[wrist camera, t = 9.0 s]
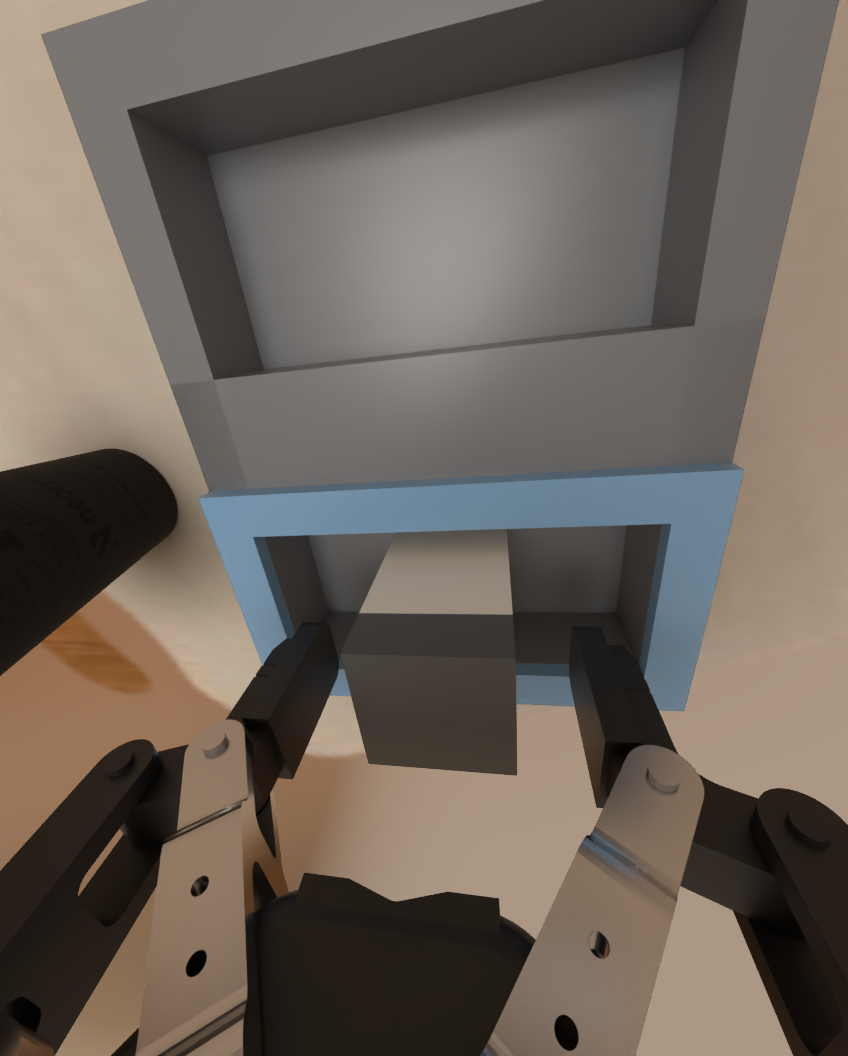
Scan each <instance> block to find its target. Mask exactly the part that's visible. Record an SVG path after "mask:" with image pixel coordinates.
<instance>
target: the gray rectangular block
mask: <svg viewBox="0 0 848 1056" xmlns="http://www.w3.org/2000/svg"><path fill="white" fill-rule="evenodd" d="M340 655H341V659H342V663H343V666H344V670H345V674H346V678H347V682H348V686H349V690H350V693H351V697H352V701H353V705H354V709H355V713H356V717H357V720H358V724H359V728H360V732H361V736H362V740H363V744H364V747H365V751H366V755H367V759H368V763H369V764H380V765H392V766H404V767H417V768H429V769H443V770H454V771H467V772H479V773H492V774H504V775H517V720H516V653H515V639H514V625H513V611H512V597H511V583H510V569H509V555H508V541H507V529H489V530H457V531H426V532H396V534H395V536H394V538H393V540H392V543H391V545H390V547H389V549H388V551H387V553H386V556H385V558H384V560H383V562H382V564H381V566H380V569H379V571H378V573H377V575H376V577H375V579H374V582H373V584H372V586H371V588H370V590H369V592H368V595H367V597H366V599H365V601H364V603H363V605H362V608H361V610H360V612H359V614H358V616H357V619H356V621H355V623H354V625H353V627H352V629H351V632H350V634H349V636H348V638H347V640H346V642H345V645H344V647H343V649H342V651H341V653H340Z"/></svg>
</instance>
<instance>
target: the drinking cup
mask: <svg viewBox="0 0 848 1056" xmlns="http://www.w3.org/2000/svg"><path fill="white" fill-rule="evenodd" d="M176 520H177V507H176V502H175V499H174V496H173V494H172V491H171V489H170V488H169V486H168V484H167V483H166V481H165V480H164V479H163V477H162V476H161V475H160V474H159V473H158V472H157V471H156V470H155V469H154V468H153V467H152V466H151V465H150V464H148V463H147V462H146V461H144V460H143V459H141V458H139V457H138V456H136V455H134V454H131V453H129V452H126V451H122V450H118V449H103V450H98V451H93V452H89V453H84V454H80V455H75V456H71V457H66V458H61V459H57V460H52V461H48V462H43V463H38V464H34V465H29V466H25V467H20V468H15V469H11V470H6V471H2V472H0V676H1V675H2V674H3V673H4V672H5V671H7V670H8V669H9V668H10V667H12V666H13V665H14V664H15V663H16V662H17V661H19V660H20V659H21V658H22V657H23V656H25V655H26V654H27V653H28V652H29V651H31V650H32V649H33V648H34V647H35V646H37V645H38V644H39V643H40V642H41V641H43V640H44V639H45V638H46V637H47V636H49V635H50V634H51V633H52V632H53V631H55V630H56V629H57V628H58V627H59V626H61V625H62V624H63V623H64V622H65V621H66V620H68V619H69V618H70V617H71V616H72V615H74V614H75V613H76V612H77V611H78V610H79V609H81V608H82V607H83V606H84V605H86V604H87V603H88V602H89V601H90V600H91V599H93V598H94V597H95V596H96V595H97V594H99V593H100V592H101V591H102V590H104V589H105V588H106V587H107V586H108V585H109V584H111V583H112V582H113V581H114V580H115V579H117V578H118V577H119V576H120V575H121V574H123V573H124V572H125V571H126V570H127V569H129V568H130V567H131V566H132V565H133V564H135V563H136V562H137V561H138V560H139V559H141V558H142V557H143V556H144V555H145V554H146V553H148V552H149V551H150V550H151V549H152V548H154V547H155V546H156V545H157V544H158V543H160V542H161V541H162V540H163V539H164V538H166V537H167V536H168V535H169V534H170V533H171V532H172V530H173V529H174V526H175V524H176Z"/></svg>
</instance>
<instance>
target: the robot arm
mask: <svg viewBox="0 0 848 1056" xmlns="http://www.w3.org/2000/svg"><path fill="white" fill-rule="evenodd" d="M338 671H339V658H338V654H337V651H336V647H335V643H334V640H333V636H332V632H331V629H330V626H329V624H328V623H327V622H303V623H302V624H301V625H300V626H299V628H298V629H297V631H296V633H295V634H294V636H293V637H292V638H286V639H285V640H284V641H283V642H281V643H280V644H279V645H278V646H277V647H275V648H274V649H273V650H272V651H271V653H270V654H269V656H268V657H267V659H266V660H265V662H264V665H263V666H261V668H260V669H259V671H258V672H257V674H256V677H254V678H253V680H252V681H251V683H250V684H249V686H248V687H247V689H246V690H245V692H244V693H243V695H242V696H241V698H240V699H239V701H238V702H237V704H236V705H235V707H234V708H233V710H232V711H231V713H230V714H229V716H228V717H227V719H226V720H222V721H219V722H216V723H214V724H212V725H210V726H208V727H206V728H205V729H203V730H202V731H201V732H200V733H198V734H197V735H196V736H195V738H194V739H193V740H192V741H191V742H190V744H188V745H185V746H180V747H176V748H172V749H168V750H164V751H160V752H157V751H156V749H155V748H154V746H153V744H152V743H151V742H150V741H148V740H144V739H139V740H133V741H130V742H127V743H125V744H123V745H121V746H119V747H117V748H116V749H114V750H112V751H111V752H109V753H108V754H107V755H106V756H104V757H103V758H102V759H101V760H100V761H99V762H98V763H97V764H96V766H95V767H94V768H93V769H92V770H91V771H90V772H89V773H88V774H87V775H86V777H85V778H84V779H83V780H82V781H81V782H80V783H79V784H78V786H77V787H76V788H75V789H74V790H73V791H72V792H71V793H70V794H69V795H68V797H67V798H66V799H65V800H64V801H63V802H62V803H61V804H60V805H59V806H58V808H57V809H56V810H55V811H54V812H53V813H52V814H51V815H50V816H49V818H48V819H47V820H46V821H45V822H44V823H43V824H42V825H41V826H40V828H39V829H38V830H37V831H36V832H35V833H34V834H33V835H32V836H31V838H30V839H29V840H28V841H27V842H26V843H25V844H24V845H23V846H22V848H21V849H20V850H19V851H18V852H17V853H16V854H15V855H14V856H13V857H12V859H11V860H10V861H9V862H8V863H7V864H6V865H5V866H4V867H3V869H2V870H1V871H0V1056H55V1054H56V1053H57V1051H58V1049H59V1048H60V1046H61V1044H62V1043H63V1041H64V1039H65V1038H66V1036H67V1034H68V1033H69V1031H70V1029H71V1027H72V1026H73V1024H74V1023H75V1021H76V1019H77V1017H78V1016H79V1014H80V1012H81V1011H82V1009H83V1008H84V1006H85V1004H86V1002H87V1001H88V999H89V998H90V996H91V994H92V993H93V991H94V989H95V988H96V986H97V984H98V983H99V981H100V979H101V978H102V976H103V974H104V973H105V971H106V969H107V968H108V966H109V964H110V963H111V961H112V959H113V958H114V956H115V954H116V953H117V951H118V949H119V948H120V946H121V944H122V942H123V941H124V939H125V938H126V936H127V934H128V933H129V931H130V929H131V928H132V926H133V924H134V923H135V921H136V919H137V918H138V916H139V914H140V913H141V911H142V909H143V908H144V906H145V904H146V903H147V901H148V899H149V898H150V896H151V894H152V893H153V891H154V889H155V888H156V886H157V890H156V898H155V906H154V914H153V923H152V930H151V938H150V946H149V954H148V962H147V969H146V978H145V985H144V994H143V1001H142V1010H141V1017H140V1025H139V1028H138V1029H137V1030H136V1031H135V1032H134V1033H133V1034H132V1035H131V1036H130V1037H129V1038H128V1039H127V1040H126V1041H125V1042H124V1043H123V1044H122V1045H121V1046H120V1047H119V1048H118V1049H117V1050H116V1051H115V1052H114V1053H113V1054H112V1055H111V1056H636V1052H637V1049H638V1045H639V1041H640V1038H641V1034H642V1030H643V1026H644V1023H645V1019H646V1015H647V1011H648V1007H649V1004H650V1000H651V997H652V993H653V989H654V986H655V982H656V978H657V974H658V971H659V967H660V963H661V960H662V956H663V952H664V948H665V945H666V941H667V937H668V933H669V930H670V926H671V922H672V919H673V915H674V911H675V907H676V903H677V896H678V892H679V888H680V886H682V887H684V888H686V889H688V890H690V891H692V892H695V893H697V894H699V895H701V896H703V897H705V898H708V899H710V900H712V901H714V902H716V903H719V904H720V905H723V906H725V907H727V908H729V909H731V910H733V912H734V914H735V916H736V919H737V922H738V924H739V926H740V929H741V931H742V934H743V936H744V938H745V940H746V943H747V946H748V948H749V950H750V953H751V955H752V957H753V960H754V962H755V965H756V967H757V970H758V972H759V974H760V977H761V979H762V982H763V984H764V986H765V989H766V991H767V994H768V996H769V998H770V1001H771V1003H772V1006H773V1008H774V1010H775V1013H776V1015H777V1018H778V1020H779V1023H780V1025H781V1027H782V1030H783V1032H784V1035H785V1037H786V1039H787V1042H788V1044H789V1047H790V1049H791V1051H792V1054H793V1056H848V825H847V824H846V823H845V822H844V821H843V820H842V819H841V818H840V817H839V816H838V815H837V814H835V813H834V812H833V811H832V810H830V809H829V808H828V807H827V806H825V805H824V804H822V803H821V802H819V801H817V800H816V799H814V798H812V797H810V796H808V795H805V794H803V793H800V792H797V791H794V790H790V789H783V788H776V789H770V790H768V791H765V792H764V793H763V794H762V795H761V796H760V797H759V799H757V798H755V797H752V796H749V795H746V794H743V793H740V792H737V791H734V790H731V789H729V788H726V787H723V786H720V785H718V784H715V783H713V782H711V781H709V780H707V779H706V778H704V777H703V776H701V775H699V774H698V773H697V772H696V770H695V769H694V768H693V767H692V765H691V764H690V763H688V761H686V760H685V759H684V758H683V757H681V756H680V755H679V754H678V753H677V751H676V749H675V747H674V745H673V743H672V740H671V738H670V736H669V733H668V731H667V729H666V726H665V724H664V722H663V719H662V717H661V715H660V713H659V710H658V708H657V705H656V703H655V701H654V698H653V696H652V694H651V693H650V689H649V687H648V684H647V682H646V680H645V679H644V675H643V673H642V670H641V668H640V666H639V663H638V661H637V659H636V658H635V657H634V656H633V655H632V654H631V653H630V652H629V651H628V650H627V649H626V648H625V647H624V646H623V645H608V644H607V641H606V639H605V636H604V633H603V630H602V628H601V627H600V626H572V629H571V642H570V658H569V678H570V686H571V691H572V696H573V700H574V705H575V710H576V714H577V719H578V723H579V728H580V733H581V737H582V742H583V747H584V751H585V756H586V761H587V765H588V770H589V775H590V779H591V784H592V788H593V793H594V798H595V803H596V807H597V808H603V810H602V812H601V814H600V817H599V819H598V821H597V823H596V825H595V827H594V830H593V832H592V833H591V835H590V836H588V835H587V836H586V837H585V838H584V840H583V841H582V843H581V845H580V847H579V849H578V851H577V853H576V855H575V857H574V859H573V861H572V864H571V866H570V868H569V870H568V872H567V874H566V876H565V879H564V881H563V883H562V885H561V887H560V889H559V892H558V894H557V896H556V898H555V900H554V902H553V904H552V907H551V909H550V911H549V913H548V915H547V917H546V919H545V922H544V924H543V926H542V928H541V930H540V932H539V934H538V936H537V939H536V940H535V939H534V938H533V937H532V936H531V935H529V933H527V932H526V931H525V930H524V929H522V928H521V927H519V926H518V925H516V924H515V923H513V922H512V921H510V920H508V919H506V918H504V917H502V916H500V909H499V899H498V898H491V897H483V896H476V895H467V894H461V893H453V892H445V893H439V894H434V895H429V896H424V897H419V898H414V899H409V900H403V901H397V902H395V901H391V900H389V899H387V898H385V897H383V896H381V895H379V894H377V893H375V892H374V891H372V890H370V889H368V888H366V887H364V886H362V885H360V884H358V883H356V882H354V881H352V880H351V879H348V878H340V877H333V876H325V875H318V874H310V873H304V875H303V878H302V881H301V884H300V887H299V890H295V891H292V892H290V893H289V890H288V886H287V883H286V879H285V876H284V872H283V867H282V860H281V851H280V842H279V834H278V825H277V816H276V807H275V799H274V794H273V792H272V789H273V787H274V785H275V783H276V781H277V778H283V779H293V777H294V776H295V773H296V771H297V769H298V766H299V764H300V762H301V759H302V757H303V755H304V753H305V750H306V748H307V746H308V743H309V741H310V739H311V736H312V734H313V732H314V730H315V727H316V725H317V723H318V720H319V718H320V716H321V714H322V711H323V709H324V707H325V704H326V702H327V700H328V697H329V695H330V693H331V691H332V688H333V686H334V684H335V681H336V679H337V676H338ZM119 829H120V830H121V831H122V832H123V836H122V837H121V839H120V840H119V841H118V843H117V844H116V845H115V847H114V848H113V849H112V851H111V852H110V854H109V855H108V856H107V858H106V859H105V860H104V862H103V863H102V865H101V866H100V867H99V869H98V870H97V871H96V873H95V874H94V876H93V877H92V878H91V880H90V881H89V883H88V884H87V885H86V887H85V888H84V890H83V891H82V892H81V894H80V895H79V896H78V891H79V887H80V884H81V882H82V880H83V878H84V876H85V875H86V873H87V872H88V870H89V869H90V868H91V866H92V865H93V864H94V862H95V861H96V859H97V858H98V857H99V855H100V854H101V853H102V851H103V850H104V849H105V847H106V846H107V845H108V843H109V842H110V841H111V839H112V838H113V837H114V835H115V834H116V832H117V831H118V830H119Z"/></svg>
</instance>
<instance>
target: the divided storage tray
mask: <svg viewBox="0 0 848 1056" xmlns="http://www.w3.org/2000/svg"><path fill="white" fill-rule="evenodd" d="M838 2H839V0H148V1H145V2H142V3H139V4H136V5H133V6H129V7H126V8H123V9H120V10H117V11H114V12H110V13H107V14H104V15H101V16H98V17H95V18H92V19H88V20H85V21H82V22H79V23H76V24H73V25H69V26H66V27H63V28H60V29H57V30H54V31H51V32H47V33H44V34H41V36H42V38H43V41H44V44H45V47H46V49H47V52H48V55H49V57H50V60H51V63H52V66H53V68H54V71H55V74H56V76H57V79H58V82H59V85H60V87H61V90H62V93H63V95H64V98H65V101H66V104H67V106H68V109H69V112H70V114H71V117H72V120H73V123H74V125H75V128H76V131H77V133H78V136H79V139H80V141H81V144H82V147H83V150H84V152H85V155H86V158H87V160H88V163H89V166H90V169H91V171H92V174H93V177H94V179H95V182H96V185H97V188H98V190H99V193H100V196H101V198H102V201H103V204H104V207H105V209H106V212H107V215H108V217H109V220H110V223H111V226H112V228H113V231H114V234H115V236H116V239H117V242H118V245H119V247H120V250H121V253H122V255H123V258H124V261H125V264H126V266H127V269H128V272H129V274H130V277H131V280H132V283H133V285H134V288H135V291H136V293H137V296H138V299H139V302H140V304H141V307H142V310H143V312H144V315H145V318H146V321H147V323H148V326H149V329H150V331H151V334H152V337H153V340H154V342H155V345H156V348H157V350H158V353H159V356H160V358H161V361H162V364H163V367H164V369H165V372H166V375H167V377H168V380H169V383H170V386H171V388H172V391H173V394H174V396H175V399H176V402H177V405H178V407H179V410H180V413H181V415H182V418H183V421H184V424H185V426H186V429H187V432H188V434H189V437H190V440H191V443H192V445H193V448H194V451H195V453H196V456H197V459H198V462H199V464H200V467H201V470H202V472H203V475H204V478H205V481H206V483H207V486H208V489H209V491H210V492H208V493H206V494H205V495H203V496H201V497H200V498H198V499H199V501H200V504H201V506H202V509H203V512H204V514H205V517H206V519H207V522H208V525H209V527H210V530H211V532H212V535H213V538H214V540H215V543H216V545H217V548H218V551H219V553H220V556H221V558H222V561H223V564H224V566H225V569H226V571H227V574H228V577H229V579H230V582H231V584H232V587H233V590H234V592H235V595H236V597H237V600H238V603H239V605H240V608H241V610H242V613H243V616H244V618H245V621H246V623H247V626H248V629H249V631H250V634H251V636H252V639H253V642H254V644H255V647H256V649H257V652H258V655H259V657H260V660H261V662H262V665H264V662H265V660H266V659H267V657H268V656H269V654H270V653H271V651H272V650H273V649H274V648H275V647H277V646H278V645H279V644H280V643H281V642H283V641H284V640H285V639H286V638H292V637H293V636H294V634H295V633H296V631H297V629H298V628H299V626H300V625H301V624H302V623H303V622H327V623H328V624H329V626H330V629H331V632H332V636H333V640H334V643H335V647H336V651H337V654H338V658H339V671H338V676H337V679H336V681H335V684H334V686H333V688H332V691H331V693H330V695H336V696H351V693H350V690H349V686H348V682H347V678H346V674H345V670H344V666H343V663H342V659H341V655H340V653H341V651H342V649H343V647H344V645H345V642H346V640H347V638H348V636H349V634H350V632H351V629H352V627H353V625H354V623H355V621H356V619H357V616H358V614H359V612H360V610H361V608H362V605H363V603H364V601H365V599H366V597H367V595H368V592H369V590H370V588H371V586H372V584H373V582H374V579H375V577H376V575H377V573H378V571H379V569H380V566H381V564H382V562H383V560H384V558H385V556H386V553H387V551H388V549H389V547H390V545H391V543H392V540H393V538H394V536H395V534H396V532H426V531H457V530H489V529H507V541H508V555H509V569H510V583H511V597H512V611H513V625H514V639H515V653H516V704H533V705H555V706H575V705H574V700H573V696H572V691H571V686H570V678H569V658H570V642H571V629H572V626H600V627H601V628H602V630H603V633H604V636H605V639H606V641H607V644H608V645H623V646H624V647H625V648H626V649H627V650H628V651H629V652H630V653H631V654H632V655H633V656H634V657H635V658H636V659H637V661H638V663H639V666H640V668H641V670H642V673H643V675H644V679H645V680H646V682H647V684H648V687H649V689H650V693H651V694H652V696H653V698H654V701H655V703H656V705H657V708H658V710H664V711H685V707H686V703H687V699H688V695H689V690H690V687H691V683H692V679H693V675H694V671H695V667H696V662H697V658H698V654H699V650H700V646H701V642H702V638H703V634H704V630H705V626H706V622H707V618H708V614H709V610H710V606H711V602H712V598H713V594H714V590H715V586H716V582H717V578H718V573H719V569H720V565H721V561H722V557H723V553H724V549H725V545H726V541H727V537H728V533H729V529H730V525H731V521H732V517H733V513H734V509H735V505H736V501H737V497H738V493H739V489H740V485H741V480H742V476H743V472H744V469H742V468H741V467H739V466H737V465H736V464H734V463H732V460H733V456H734V452H735V447H736V443H737V439H738V434H739V430H740V426H741V421H742V417H743V413H744V408H745V404H746V400H747V396H748V391H749V387H750V383H751V378H752V374H753V370H754V365H755V361H756V357H757V352H758V348H759V344H760V339H761V335H762V331H763V326H764V322H765V318H766V313H767V309H768V305H769V300H770V296H771V292H772V288H773V283H774V279H775V275H776V270H777V266H778V262H779V257H780V253H781V249H782V244H783V240H784V236H785V231H786V227H787V223H788V218H789V214H790V210H791V205H792V201H793V197H794V192H795V188H796V184H797V180H798V175H799V171H800V167H801V162H802V158H803V154H804V149H805V145H806V141H807V136H808V132H809V128H810V123H811V119H812V115H813V110H814V106H815V102H816V97H817V93H818V89H819V84H820V80H821V76H822V72H823V67H824V63H825V59H826V54H827V50H828V46H829V41H830V37H831V33H832V28H833V24H834V20H835V15H836V11H837V7H838Z"/></svg>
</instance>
